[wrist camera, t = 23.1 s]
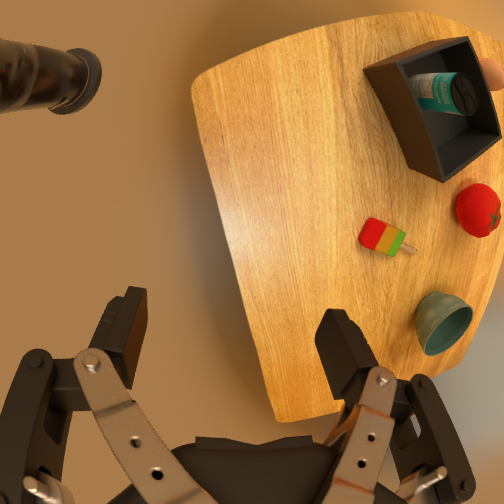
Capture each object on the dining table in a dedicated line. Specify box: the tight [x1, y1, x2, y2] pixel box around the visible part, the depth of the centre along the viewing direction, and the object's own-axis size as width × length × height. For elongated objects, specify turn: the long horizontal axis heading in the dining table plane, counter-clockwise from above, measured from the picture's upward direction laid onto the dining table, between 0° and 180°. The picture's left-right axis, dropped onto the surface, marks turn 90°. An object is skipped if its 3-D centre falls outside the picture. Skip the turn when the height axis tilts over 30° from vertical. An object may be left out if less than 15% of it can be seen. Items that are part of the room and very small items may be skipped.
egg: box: [479, 58, 504, 91], centre depth 28 cm, size 7×7×8 cm
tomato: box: [456, 183, 501, 238], centre depth 42 cm, size 12×12×10 cm
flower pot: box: [416, 292, 473, 356], centre depth 55 cm, size 16×16×11 cm
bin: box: [363, 36, 502, 183], centre depth 32 cm, size 20×20×10 cm
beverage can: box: [407, 73, 478, 116], centre depth 28 cm, size 6×6×15 cm
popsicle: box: [359, 218, 417, 257], centre depth 48 cm, size 6×15×2 cm, turn 70°
